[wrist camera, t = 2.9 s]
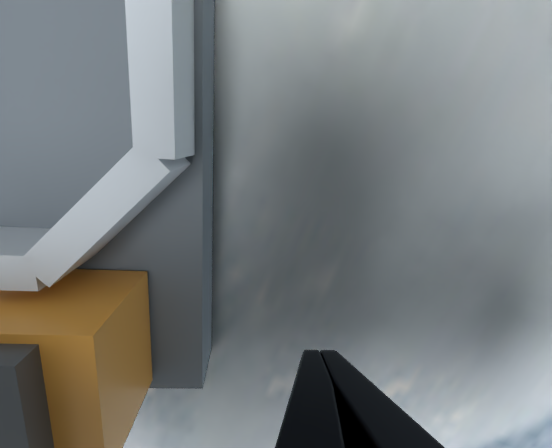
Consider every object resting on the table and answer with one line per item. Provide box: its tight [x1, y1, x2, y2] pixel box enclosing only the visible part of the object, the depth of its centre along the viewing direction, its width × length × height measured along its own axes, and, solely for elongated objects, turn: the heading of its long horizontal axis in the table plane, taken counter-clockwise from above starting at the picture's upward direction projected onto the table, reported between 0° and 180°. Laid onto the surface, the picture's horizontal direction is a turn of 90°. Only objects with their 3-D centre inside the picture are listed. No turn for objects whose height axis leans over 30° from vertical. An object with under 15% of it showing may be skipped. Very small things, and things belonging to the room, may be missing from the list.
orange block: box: [0, 269, 153, 448], centre depth 7 cm, size 3×4×4 cm
